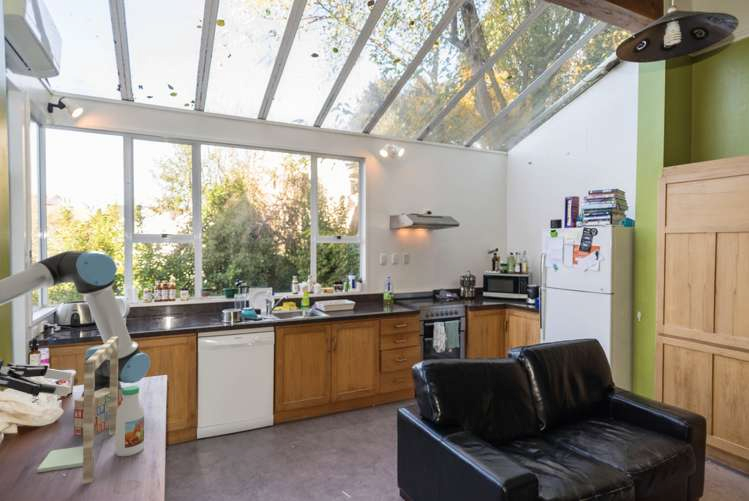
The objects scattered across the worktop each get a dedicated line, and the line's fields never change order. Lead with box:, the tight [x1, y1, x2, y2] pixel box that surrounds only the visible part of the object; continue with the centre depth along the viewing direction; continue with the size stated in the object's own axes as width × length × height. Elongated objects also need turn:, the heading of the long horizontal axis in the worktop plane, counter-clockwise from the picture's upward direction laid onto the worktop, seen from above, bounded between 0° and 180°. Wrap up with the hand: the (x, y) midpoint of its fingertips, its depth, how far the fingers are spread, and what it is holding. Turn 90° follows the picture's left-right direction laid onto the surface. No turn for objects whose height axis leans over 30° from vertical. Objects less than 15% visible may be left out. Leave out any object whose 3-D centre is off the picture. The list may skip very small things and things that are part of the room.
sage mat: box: [36, 445, 83, 473], centre depth 124 cm, size 11×11×1 cm
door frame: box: [82, 336, 119, 485], centre depth 127 cm, size 32×2×33 cm, turn 21°
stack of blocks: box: [73, 386, 126, 437], centre depth 149 cm, size 21×6×12 cm, turn 168°
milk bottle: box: [115, 385, 145, 457], centre depth 130 cm, size 8×8×20 cm
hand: (69, 383), depth 127 cm, fingers open, 13 cm apart
